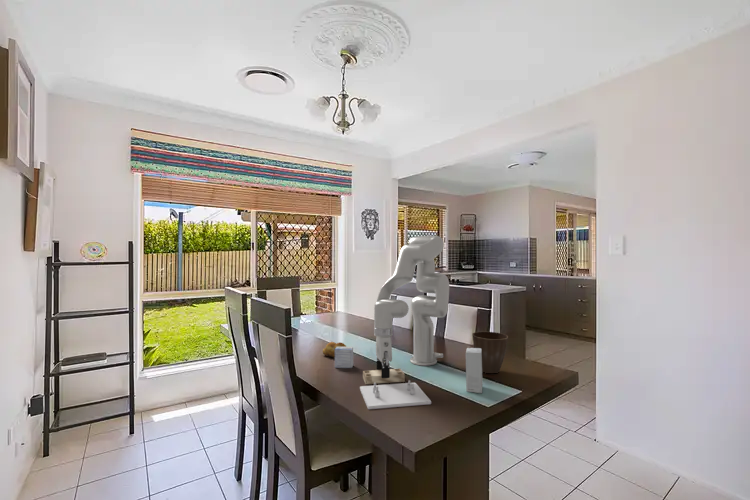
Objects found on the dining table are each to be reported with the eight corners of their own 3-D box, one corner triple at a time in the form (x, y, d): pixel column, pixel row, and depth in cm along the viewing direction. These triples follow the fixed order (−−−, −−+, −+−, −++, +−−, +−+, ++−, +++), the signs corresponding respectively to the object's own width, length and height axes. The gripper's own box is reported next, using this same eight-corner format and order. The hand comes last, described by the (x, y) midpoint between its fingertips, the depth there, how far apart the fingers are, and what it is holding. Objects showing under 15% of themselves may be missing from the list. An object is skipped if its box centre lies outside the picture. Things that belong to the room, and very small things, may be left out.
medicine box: (353, 365, 165) (353, 346, 165) (351, 368, 160) (351, 349, 160) (336, 364, 165) (336, 346, 166) (334, 368, 161) (334, 348, 161)
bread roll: (319, 357, 178) (319, 340, 178) (329, 352, 187) (329, 336, 187) (341, 360, 173) (341, 343, 173) (351, 355, 182) (351, 339, 182)
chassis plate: (415, 385, 140) (415, 373, 140) (431, 404, 123) (431, 390, 123) (359, 389, 136) (359, 377, 136) (368, 409, 118) (368, 395, 118)
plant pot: (490, 364, 166) (490, 330, 166) (515, 374, 153) (515, 336, 153) (465, 369, 160) (465, 333, 160) (489, 379, 146) (489, 340, 146)
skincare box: (482, 393, 132) (482, 353, 132) (465, 391, 133) (465, 352, 133) (482, 385, 140) (482, 347, 140) (466, 384, 141) (466, 346, 141)
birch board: (400, 375, 151) (400, 368, 151) (404, 381, 144) (404, 374, 144) (362, 378, 148) (362, 370, 148) (365, 384, 141) (365, 376, 141)
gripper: (397, 336, 138) (397, 380, 138) (387, 327, 155) (387, 367, 155) (378, 336, 137) (378, 381, 136) (370, 327, 154) (370, 367, 153)
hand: (382, 373), depth 146 cm, fingers open, 9 cm apart
